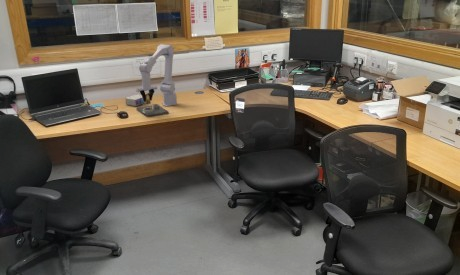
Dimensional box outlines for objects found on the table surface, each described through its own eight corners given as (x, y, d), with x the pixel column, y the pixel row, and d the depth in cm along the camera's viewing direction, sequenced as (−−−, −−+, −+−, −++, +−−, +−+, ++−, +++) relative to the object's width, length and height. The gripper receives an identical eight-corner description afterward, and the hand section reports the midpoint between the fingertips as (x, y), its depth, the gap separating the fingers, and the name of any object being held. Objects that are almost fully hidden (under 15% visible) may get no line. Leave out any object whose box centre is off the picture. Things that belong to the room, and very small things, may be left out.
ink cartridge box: (136, 107, 291) (148, 101, 303) (135, 99, 289) (148, 94, 301) (125, 105, 295) (138, 99, 307) (125, 98, 293) (137, 92, 305)
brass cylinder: (149, 102, 278) (148, 92, 276) (151, 103, 275) (150, 93, 272) (144, 103, 276) (143, 93, 274) (145, 104, 273) (144, 94, 271)
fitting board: (157, 106, 292) (156, 101, 291) (168, 113, 277) (168, 108, 276) (136, 109, 284) (136, 105, 283) (147, 117, 269) (146, 112, 267)
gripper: (154, 78, 276) (155, 97, 281) (133, 81, 269) (135, 100, 274) (158, 80, 271) (159, 100, 276) (137, 83, 263) (139, 103, 268)
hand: (147, 100), depth 274 cm, fingers closed on brass cylinder, 4 cm apart
